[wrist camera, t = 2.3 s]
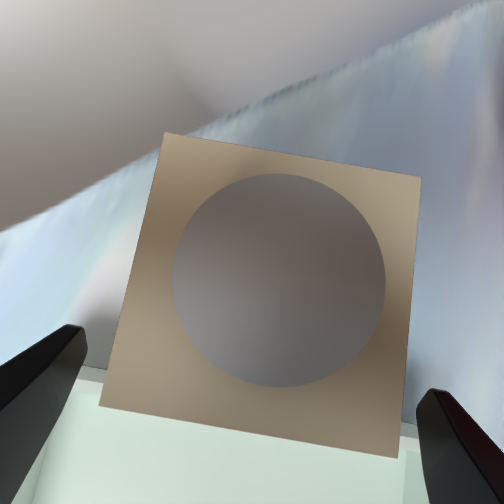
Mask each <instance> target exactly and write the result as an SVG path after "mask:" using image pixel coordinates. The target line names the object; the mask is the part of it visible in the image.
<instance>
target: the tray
mask: <svg viewBox="0 0 504 504" xmlns="http://www.w3.org/2000/svg"><path fill="white" fill-rule="evenodd" d="M106 372H107V370H104V369H98V368H93V367H87V366H82V367H81V369H80V371H79V374H78V376H77V378H76V381H75V383H74V385H73V388H72V390H71V392H70V395H69V397H68V399H67V402H66V404H65V406H64V408H63V411H62V413H61V415H60V417H59V419H58V420H57V422H56V424H55V426H54V428H53V429H52V431H51V433H50V435H49V437H48V438H47V440H46V442H45V444H44V446H43V447H42V449H41V451H40V453H39V455H38V456H37V458H36V460H35V462H34V464H33V465H32V467H31V469H30V471H29V473H28V474H27V476H26V478H25V480H24V482H23V483H22V485H21V487H20V489H19V490H18V492H17V494H16V496H15V498H14V499H13V501H12V503H11V504H430V503H429V499H428V495H427V490H426V486H425V481H424V475H423V469H422V461H421V453H420V445H419V436H418V428H417V426H416V425H415V424H410V423H405V422H401V429H400V441H399V453H398V459H396V458H390V457H384V456H379V455H373V454H367V453H362V452H356V451H350V450H345V449H339V448H333V447H328V446H322V445H316V444H311V443H305V442H299V441H294V440H288V439H282V438H277V437H271V436H265V435H260V434H254V433H248V432H243V431H237V430H231V429H226V428H220V427H214V426H209V425H203V424H197V423H191V422H186V421H180V420H174V419H169V418H163V417H157V416H152V415H146V414H140V413H135V412H129V411H123V410H118V409H112V408H106V407H101V406H98V405H99V401H100V396H101V392H102V388H103V384H104V380H105V376H106Z"/></svg>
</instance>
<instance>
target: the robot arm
mask: <svg viewBox="0 0 504 504" xmlns="http://www.w3.org/2000/svg"><path fill="white" fill-rule="evenodd" d="M86 354H87V341H86V336H85V330H84V328H83V327H82V326H77V325H72V324H67V325H64V326H62V327H61V328H59V329H58V330H56V331H54V332H53V333H51V334H50V335H48V336H47V337H45V338H43V339H42V340H40V341H39V342H37V343H36V344H34V345H33V346H31V347H29V348H28V349H26V350H25V351H23V352H22V353H20V354H18V355H17V356H15V357H14V358H12V359H11V360H9V361H7V362H6V363H4V364H3V365H1V366H0V504H11V503H12V501H13V499H14V498H15V496H16V494H17V492H18V490H19V489H20V487H21V485H22V483H23V482H24V480H25V478H26V476H27V474H28V473H29V471H30V469H31V467H32V465H33V464H34V462H35V460H36V458H37V456H38V455H39V453H40V451H41V449H42V447H43V446H44V444H45V442H46V440H47V438H48V437H49V435H50V433H51V431H52V429H53V428H54V426H55V424H56V422H57V420H58V419H59V417H60V415H61V413H62V411H63V408H64V406H65V404H66V402H67V399H68V397H69V395H70V392H71V390H72V388H73V385H74V383H75V381H76V378H77V376H78V374H79V371H80V369H81V367H82V364H83V362H84V360H85V357H86ZM416 420H417V428H418V436H419V445H420V453H421V461H422V469H423V475H424V481H425V486H426V490H427V495H428V499H429V503H430V504H504V453H503V452H502V451H501V450H500V449H499V447H498V446H497V445H496V444H495V443H494V442H493V441H492V440H491V439H490V437H489V436H488V435H487V434H486V433H485V432H484V431H483V430H482V429H481V427H480V426H479V425H478V424H477V423H476V422H475V421H474V420H473V418H472V417H471V416H470V415H469V414H468V413H467V412H466V411H465V410H464V408H463V407H462V406H461V405H460V404H459V403H458V402H457V401H456V399H455V398H454V397H453V396H452V395H451V394H450V393H449V392H447V391H445V390H440V389H435V388H431V389H429V390H428V391H427V393H426V394H425V395H424V397H423V398H422V400H421V401H420V402H419V404H418V405H417V408H416Z"/></svg>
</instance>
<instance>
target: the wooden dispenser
mask: <svg viewBox="0 0 504 504" xmlns="http://www.w3.org/2000/svg"><path fill="white" fill-rule="evenodd" d="M421 179H422V177H417V176H412V175H406V174H400V173H395V172H389V171H383V170H378V169H372V168H366V167H361V166H355V165H349V164H344V163H338V162H332V161H327V160H321V159H315V158H310V157H304V156H298V155H293V154H287V153H281V152H276V151H270V150H264V149H259V148H253V147H247V146H242V145H236V144H230V143H225V142H219V141H213V140H208V139H202V138H196V137H191V136H185V135H179V134H173V133H167V132H164V137H163V141H162V145H161V149H160V153H159V157H158V161H157V165H156V170H155V174H154V178H153V182H152V186H151V190H150V194H149V198H148V203H147V207H146V211H145V215H144V219H143V223H142V227H141V231H140V236H139V240H138V244H137V248H136V252H135V256H134V260H133V264H132V269H131V273H130V277H129V281H128V285H127V289H126V293H125V297H124V302H123V306H122V310H121V314H120V318H119V322H118V326H117V330H116V335H115V339H114V343H113V347H112V351H111V355H110V359H109V363H108V368H107V372H106V376H105V380H104V384H103V388H102V392H101V396H100V401H99V405H98V406H101V407H106V408H112V409H118V410H123V411H129V412H135V413H140V414H146V415H152V416H157V417H163V418H169V419H174V420H180V421H186V422H191V423H197V424H203V425H209V426H214V427H220V428H226V429H231V430H237V431H243V432H248V433H254V434H260V435H265V436H271V437H277V438H282V439H288V440H294V441H299V442H305V443H311V444H316V445H322V446H328V447H333V448H339V449H345V450H350V451H356V452H362V453H367V454H373V455H379V456H384V457H390V458H396V459H398V453H399V441H400V429H401V417H402V405H403V394H404V382H405V370H406V358H407V346H408V334H409V322H410V310H411V298H412V286H413V274H414V262H415V250H416V238H417V227H418V215H419V203H420V191H421Z"/></svg>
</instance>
